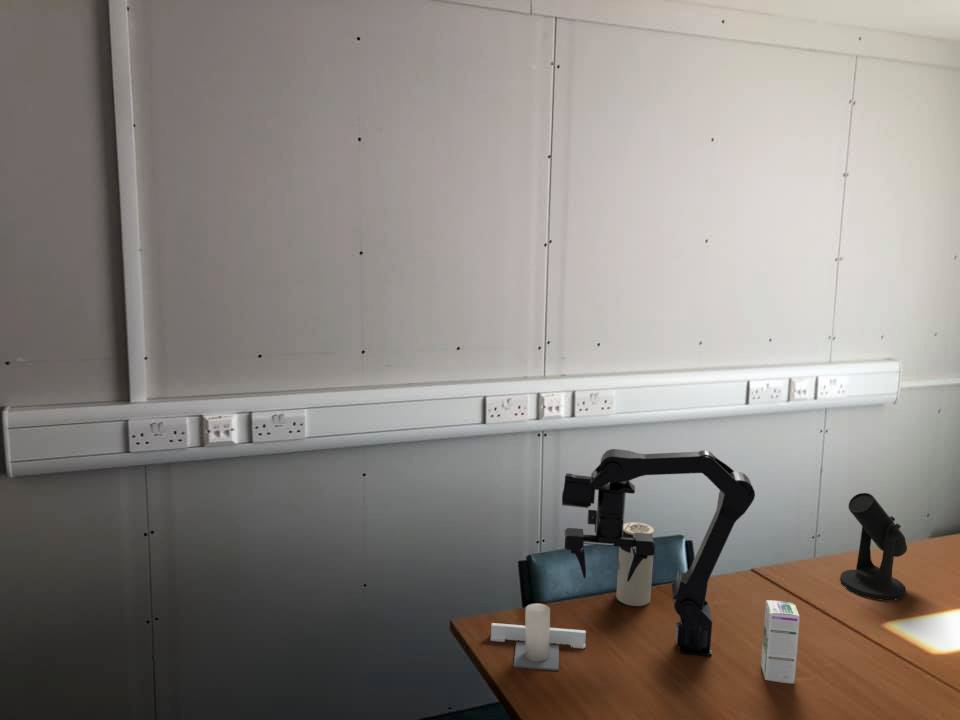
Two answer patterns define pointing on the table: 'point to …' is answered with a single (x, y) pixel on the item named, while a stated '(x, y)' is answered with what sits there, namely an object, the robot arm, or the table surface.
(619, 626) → the table surface
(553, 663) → the slate mat
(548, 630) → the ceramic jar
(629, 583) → the travel mug
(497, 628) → the light grey long bar
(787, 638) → the syrup box
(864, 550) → the microphone
